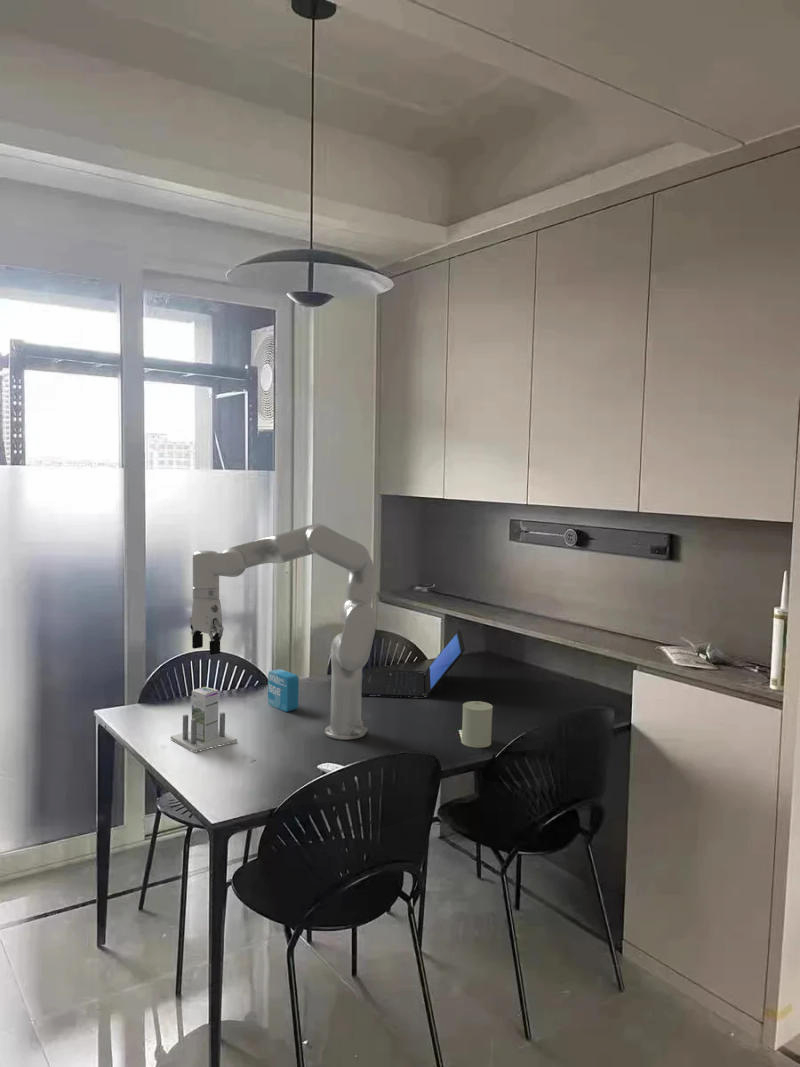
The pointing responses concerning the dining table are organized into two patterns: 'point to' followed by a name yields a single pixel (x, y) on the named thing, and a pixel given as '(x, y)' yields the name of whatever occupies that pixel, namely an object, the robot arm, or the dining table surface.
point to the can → (477, 724)
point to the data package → (283, 690)
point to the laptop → (413, 675)
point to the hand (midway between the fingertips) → (206, 650)
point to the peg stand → (195, 745)
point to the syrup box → (205, 712)
